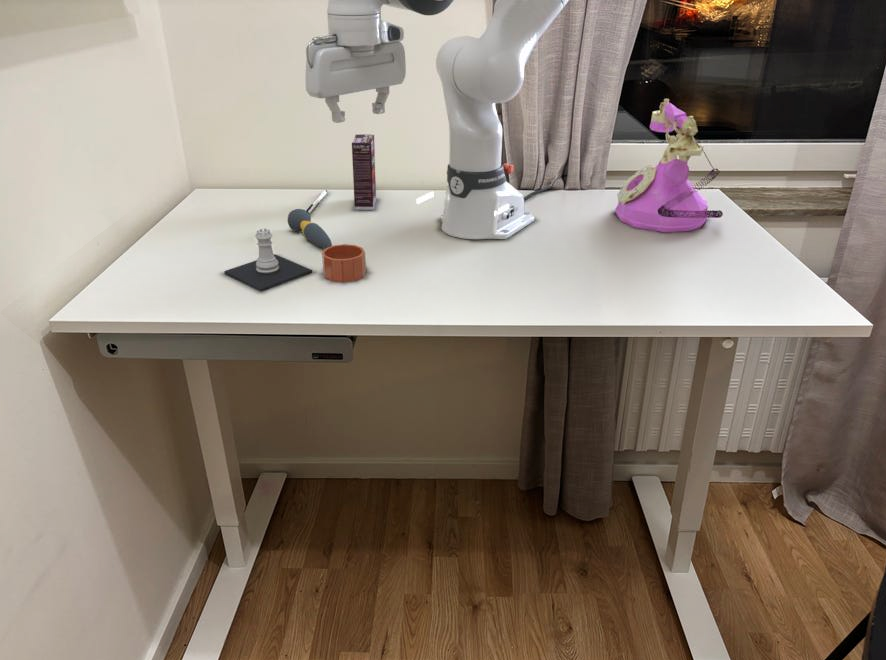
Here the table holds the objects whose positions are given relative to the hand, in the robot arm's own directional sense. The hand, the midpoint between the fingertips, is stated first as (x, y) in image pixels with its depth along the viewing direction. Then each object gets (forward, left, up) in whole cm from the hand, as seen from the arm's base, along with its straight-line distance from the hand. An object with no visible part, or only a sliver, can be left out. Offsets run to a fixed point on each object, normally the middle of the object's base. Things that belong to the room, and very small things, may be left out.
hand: (359, 117), depth 131 cm
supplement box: (-27, -30, -29) cm, 50 cm away
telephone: (-64, +31, -29) cm, 77 cm away
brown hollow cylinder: (+4, -2, -29) cm, 29 cm away
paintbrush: (-4, -22, -29) cm, 37 cm away
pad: (+14, -13, -29) cm, 35 cm away
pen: (-19, -39, -29) cm, 52 cm away
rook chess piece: (+14, -13, -29) cm, 34 cm away
